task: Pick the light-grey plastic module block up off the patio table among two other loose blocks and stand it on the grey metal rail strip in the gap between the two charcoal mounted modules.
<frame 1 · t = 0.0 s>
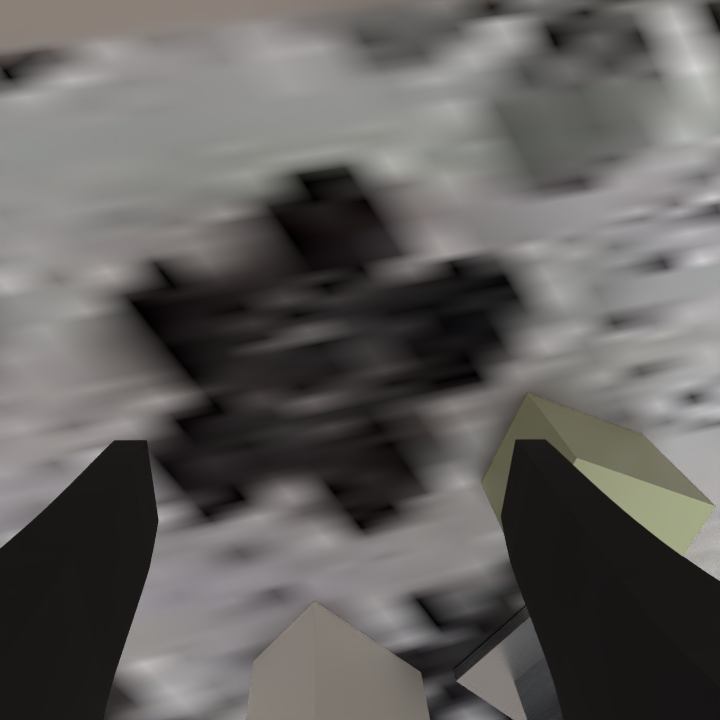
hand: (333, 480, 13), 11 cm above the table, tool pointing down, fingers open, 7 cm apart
module block: (337, 666, 29), on the table
olive block: (561, 457, 26), on the table
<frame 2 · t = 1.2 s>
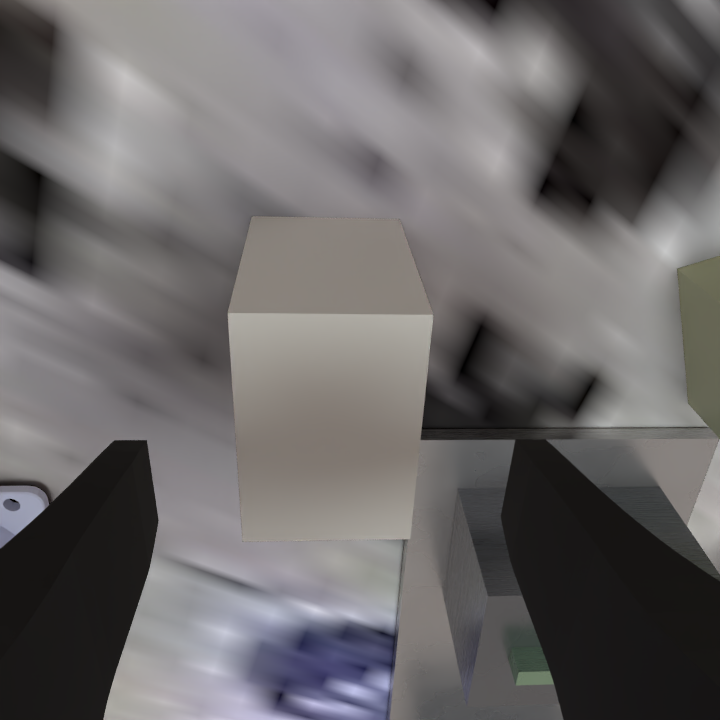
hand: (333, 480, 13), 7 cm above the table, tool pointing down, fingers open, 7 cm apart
rail station: (510, 662, 28), on the table
module block: (324, 316, 20), on the table
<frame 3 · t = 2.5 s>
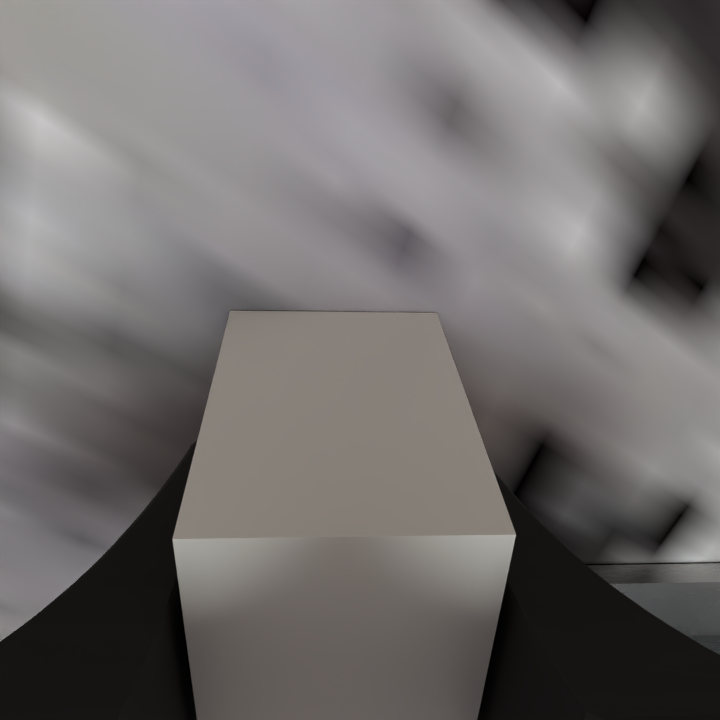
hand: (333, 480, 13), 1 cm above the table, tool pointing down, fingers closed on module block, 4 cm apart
module block: (331, 437, 14), on the table, touching gripper
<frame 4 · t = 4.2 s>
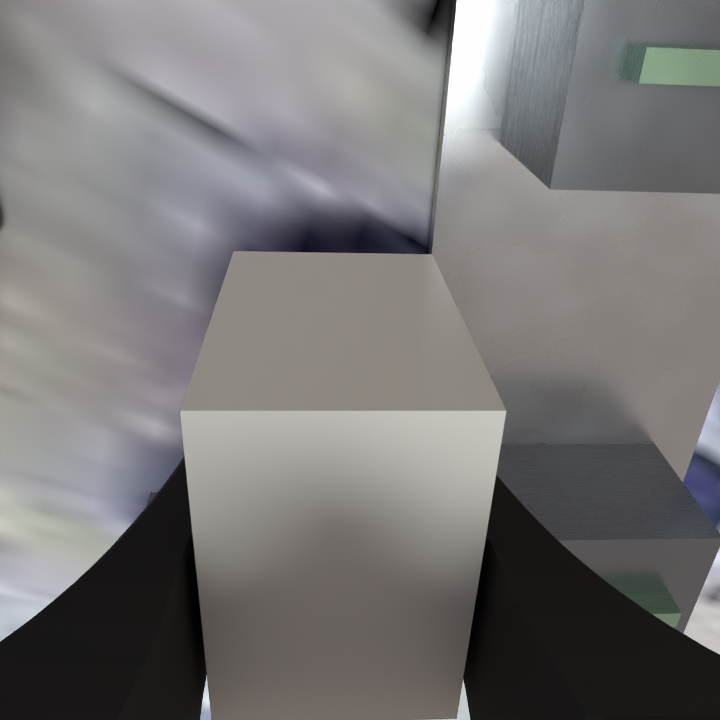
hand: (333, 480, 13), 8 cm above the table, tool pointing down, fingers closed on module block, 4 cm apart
rail station: (580, 304, 21), on the table
module block: (331, 382, 15), point 6 cm above the table, touching gripper
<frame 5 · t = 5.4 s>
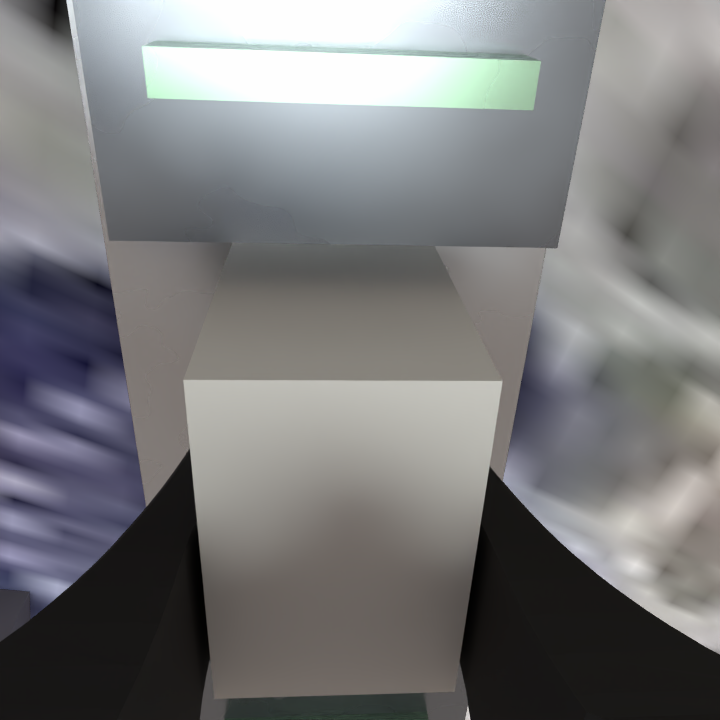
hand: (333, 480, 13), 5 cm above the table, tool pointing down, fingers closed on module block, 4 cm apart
rail station: (327, 359, 17), on the table
module block: (331, 366, 15), point 2 cm above the table, touching gripper
when the fingers open (3 cm above the table, at t = 6.1 s): module block stays where it is, resting on rail station.
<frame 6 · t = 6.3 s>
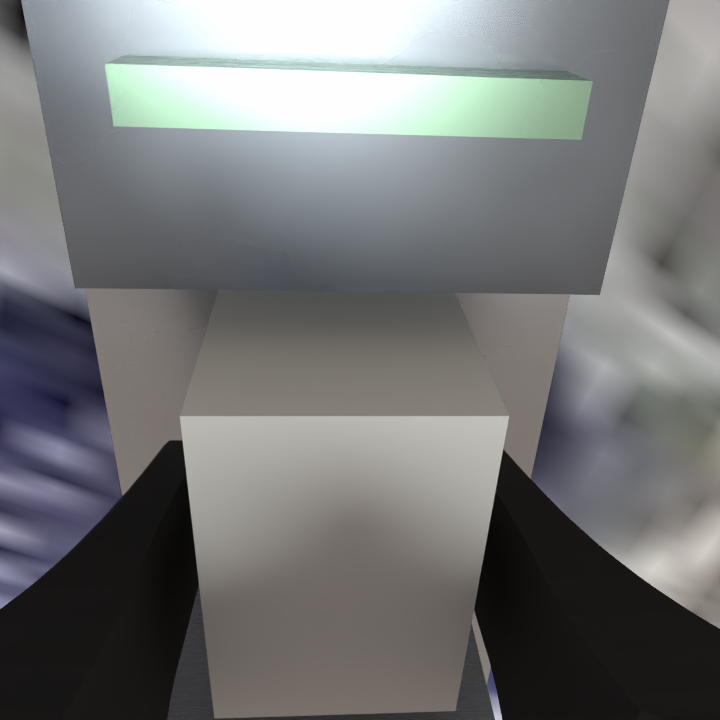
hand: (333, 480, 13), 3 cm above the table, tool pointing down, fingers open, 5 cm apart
rail station: (330, 397, 16), on the table
module block: (332, 373, 15), point 1 cm above the table, touching rail station
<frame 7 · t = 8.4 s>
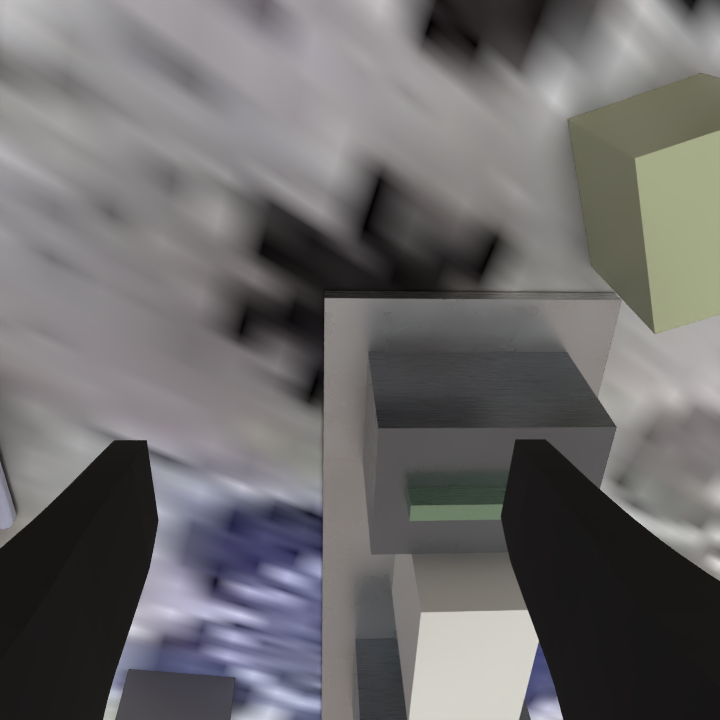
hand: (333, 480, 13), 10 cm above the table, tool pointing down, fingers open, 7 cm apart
rail station: (439, 548, 29), on the table
module block: (444, 540, 28), point 1 cm above the table, touching rail station
olive block: (641, 175, 21), on the table
charcoal block: (179, 696, 33), on the table
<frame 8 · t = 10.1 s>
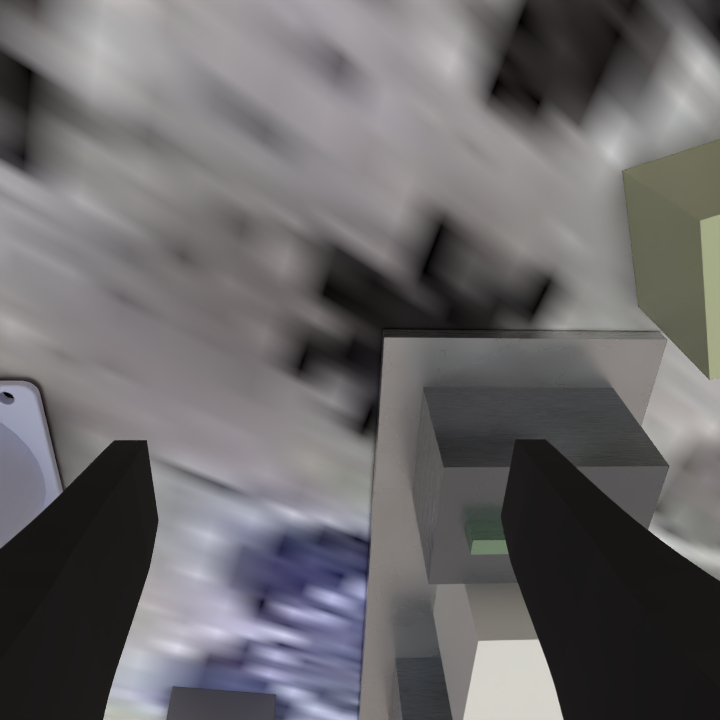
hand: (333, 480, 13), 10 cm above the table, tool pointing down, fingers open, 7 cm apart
rail station: (479, 571, 30), on the table
module block: (486, 565, 29), point 1 cm above the table, touching rail station
olive block: (690, 222, 22), on the table
charcoal block: (220, 712, 34), on the table
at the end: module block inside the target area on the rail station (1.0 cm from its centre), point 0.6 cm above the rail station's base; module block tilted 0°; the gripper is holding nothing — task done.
